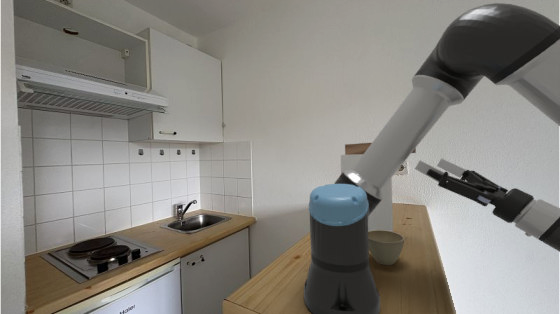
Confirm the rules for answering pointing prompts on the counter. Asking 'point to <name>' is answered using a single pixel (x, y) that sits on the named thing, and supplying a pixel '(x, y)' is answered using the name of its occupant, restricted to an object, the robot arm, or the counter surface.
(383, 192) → the riser
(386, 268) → the counter surface
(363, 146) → the batten
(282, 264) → the counter surface
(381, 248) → the flower pot
